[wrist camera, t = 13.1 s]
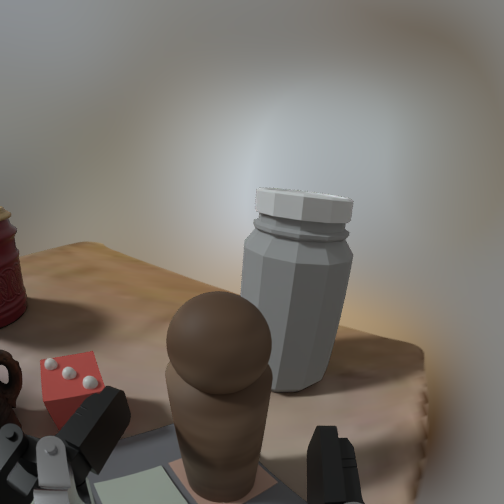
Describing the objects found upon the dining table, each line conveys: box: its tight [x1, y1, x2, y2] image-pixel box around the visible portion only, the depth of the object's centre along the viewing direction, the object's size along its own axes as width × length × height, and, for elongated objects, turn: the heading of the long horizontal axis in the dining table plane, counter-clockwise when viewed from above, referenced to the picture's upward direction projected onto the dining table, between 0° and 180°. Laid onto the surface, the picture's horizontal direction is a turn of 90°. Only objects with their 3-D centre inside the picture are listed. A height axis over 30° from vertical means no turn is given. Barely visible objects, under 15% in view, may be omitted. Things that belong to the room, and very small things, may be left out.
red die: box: [40, 351, 105, 431], centre depth 16 cm, size 5×5×6 cm
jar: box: [240, 188, 353, 392], centre depth 25 cm, size 10×10×18 cm
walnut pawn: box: [165, 291, 273, 503], centre depth 11 cm, size 4×4×14 cm
